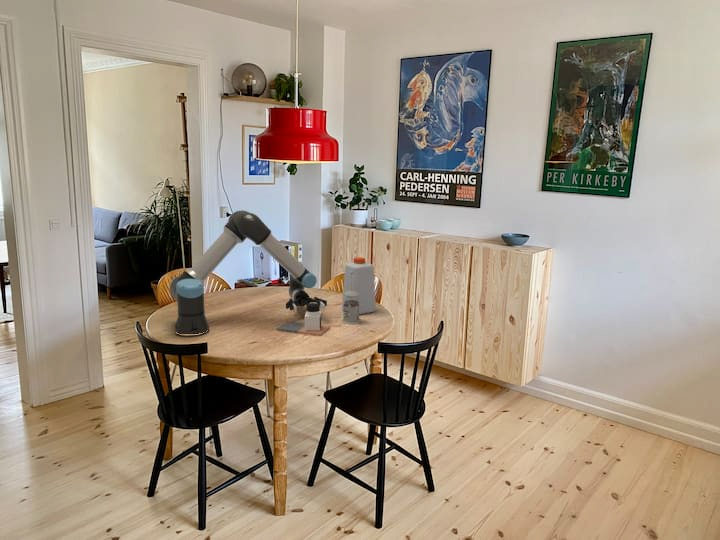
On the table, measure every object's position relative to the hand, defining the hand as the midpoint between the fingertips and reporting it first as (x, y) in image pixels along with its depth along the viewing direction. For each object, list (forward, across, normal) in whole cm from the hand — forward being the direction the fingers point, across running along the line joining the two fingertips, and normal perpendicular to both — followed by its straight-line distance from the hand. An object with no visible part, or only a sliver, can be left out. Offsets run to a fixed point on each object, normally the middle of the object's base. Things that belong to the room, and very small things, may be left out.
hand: (310, 309), depth 258 cm
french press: (-4, -21, -9) cm, 23 cm away
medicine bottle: (+7, 0, -8) cm, 10 cm away
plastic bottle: (-19, -30, -9) cm, 37 cm away
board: (+4, +4, -8) cm, 10 cm away
